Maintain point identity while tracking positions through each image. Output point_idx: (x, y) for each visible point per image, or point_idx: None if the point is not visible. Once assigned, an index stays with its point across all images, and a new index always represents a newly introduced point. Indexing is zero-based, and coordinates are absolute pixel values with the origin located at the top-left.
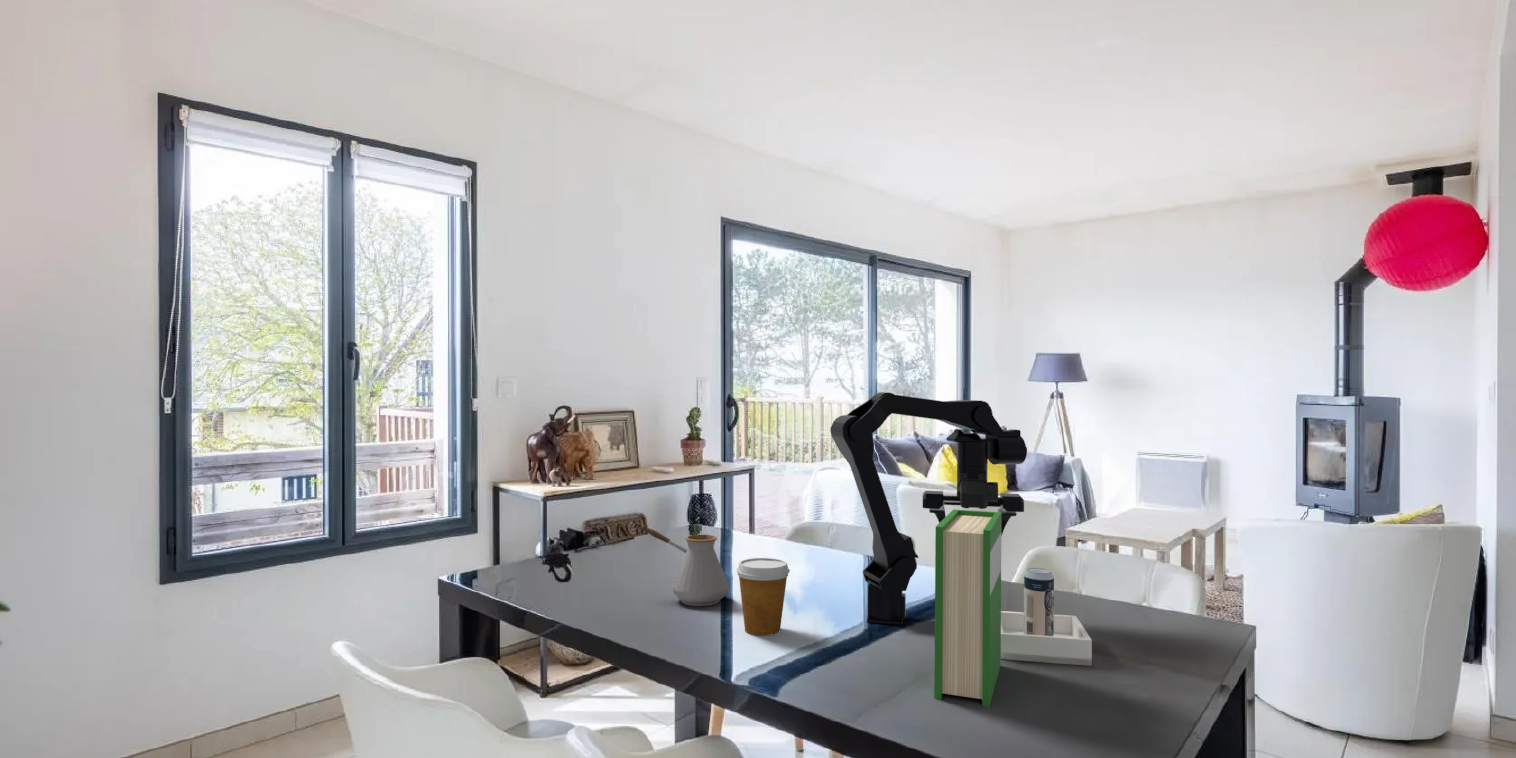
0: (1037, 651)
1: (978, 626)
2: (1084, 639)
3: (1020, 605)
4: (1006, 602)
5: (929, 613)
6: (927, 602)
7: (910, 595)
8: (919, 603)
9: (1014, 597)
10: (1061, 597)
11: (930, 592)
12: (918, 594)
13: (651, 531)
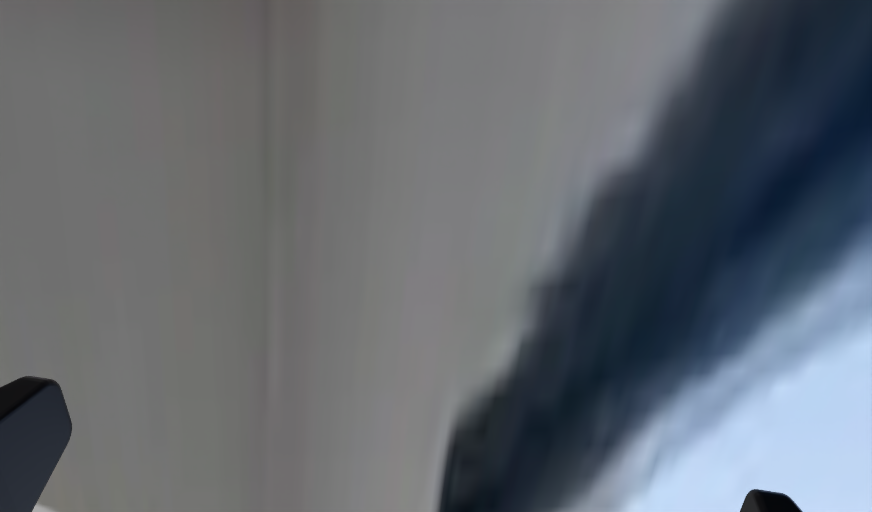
0: None
1: None
2: None
3: (199, 308)
4: (269, 354)
5: (801, 74)
6: (734, 328)
7: (803, 452)
8: (798, 304)
9: (231, 433)
10: None
11: (660, 502)
12: (744, 470)
13: None
